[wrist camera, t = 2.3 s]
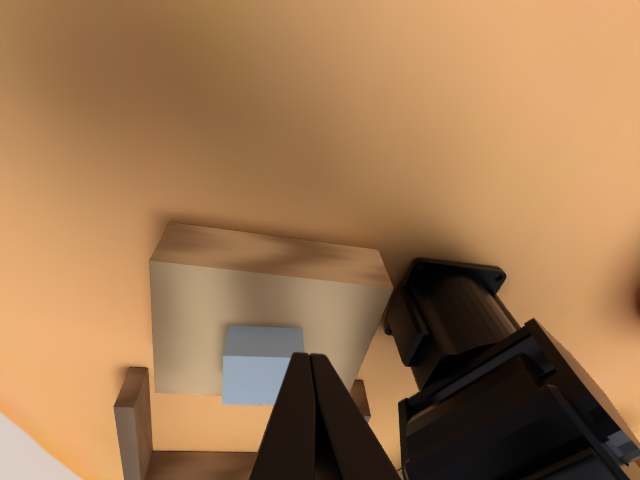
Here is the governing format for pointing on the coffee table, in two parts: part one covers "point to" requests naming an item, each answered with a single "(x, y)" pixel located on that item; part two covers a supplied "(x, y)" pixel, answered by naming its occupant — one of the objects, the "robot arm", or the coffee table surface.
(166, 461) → the dock bay
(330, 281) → the beige rectangular block
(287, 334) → the light blue square block
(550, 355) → the robot arm
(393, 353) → the coffee table surface
